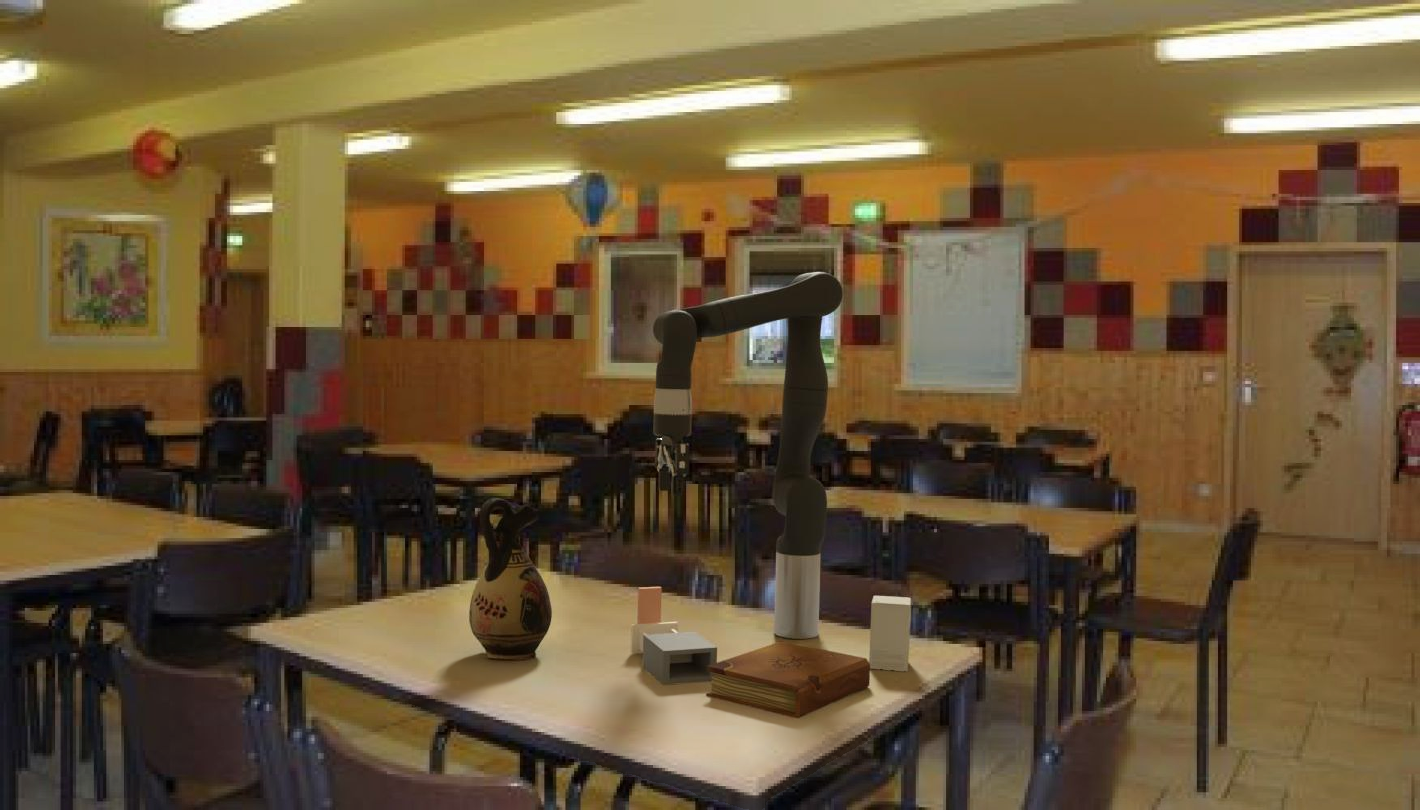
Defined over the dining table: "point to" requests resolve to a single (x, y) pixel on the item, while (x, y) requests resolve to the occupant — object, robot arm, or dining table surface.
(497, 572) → the ceramic jug
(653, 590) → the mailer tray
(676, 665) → the sleeve
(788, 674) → the diary
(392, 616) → the dining table surface
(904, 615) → the supplement box
